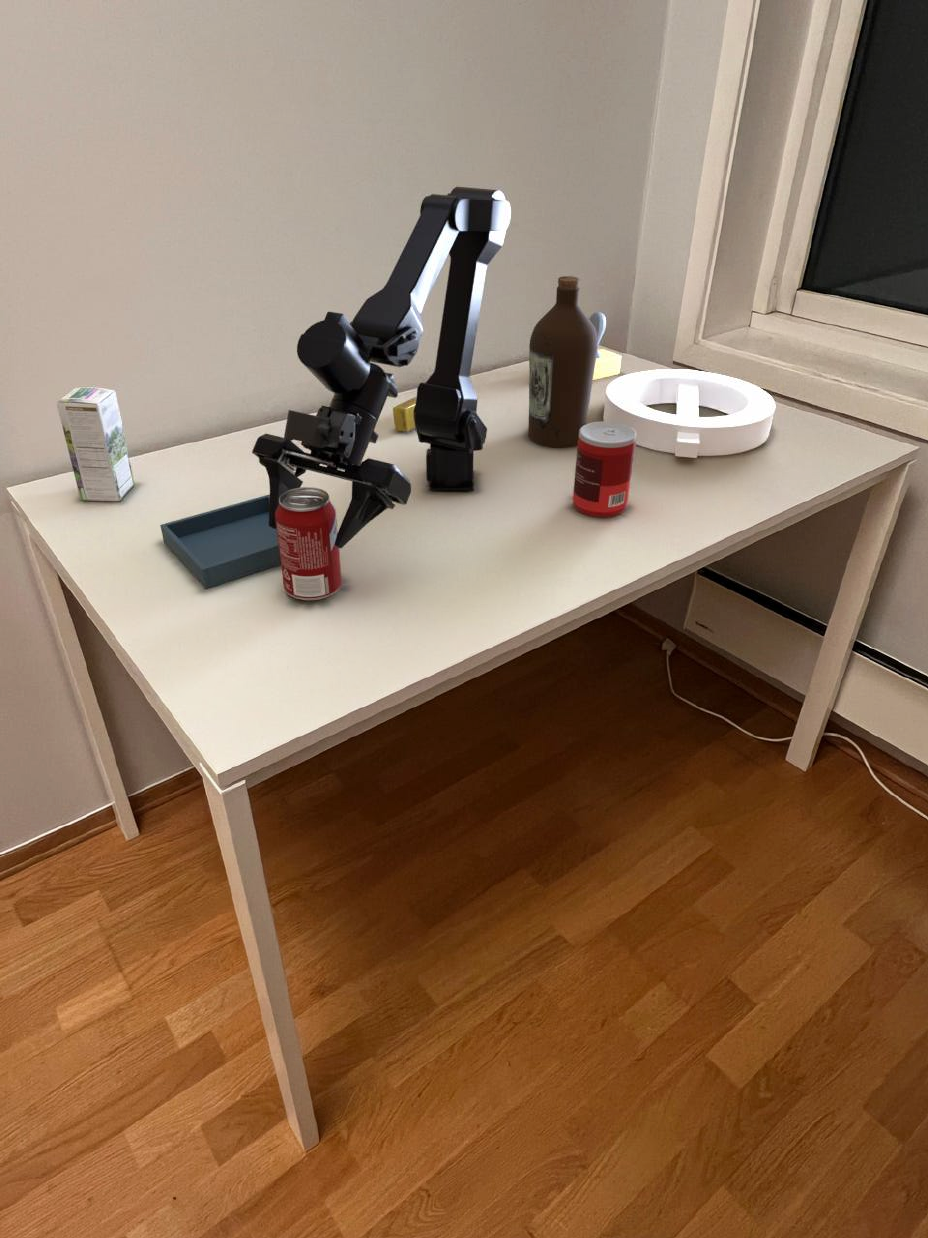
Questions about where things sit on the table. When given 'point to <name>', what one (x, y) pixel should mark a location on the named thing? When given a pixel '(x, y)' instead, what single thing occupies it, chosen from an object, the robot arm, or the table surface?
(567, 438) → the olive oil
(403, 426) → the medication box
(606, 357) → the rubber stamp
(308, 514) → the soda can
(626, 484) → the canned food
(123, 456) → the syrup box
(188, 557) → the tray
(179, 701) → the table surface
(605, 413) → the ring with crossbar
